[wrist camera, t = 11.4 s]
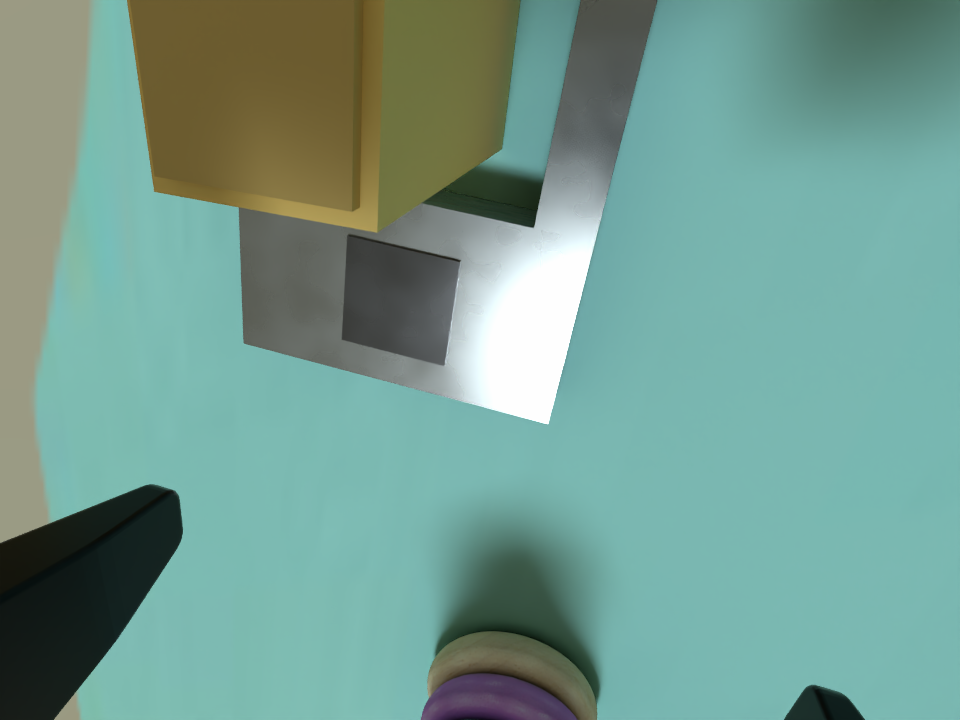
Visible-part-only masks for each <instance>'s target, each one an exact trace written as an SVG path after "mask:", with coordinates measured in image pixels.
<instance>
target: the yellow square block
mask: <svg viewBox="0 0 960 720" xmlns="http://www.w3.org/2000/svg"><path fill="white" fill-rule="evenodd" d="M127 3H128V10H129V17H130V24H131V31H132V38H133V45H134V53H135V60H136V67H137V74H138V81H139V88H140V95H141V102H142V109H143V116H144V123H145V130H146V137H147V144H148V151H149V158H150V165H151V172H152V179H153V186H154V192H159V193H164V194H170V195H175V196H180V197H186V198H191V199H197V200H202V201H208V202H213V203H218V204H224V205H229V206H235V207H240V208H246V209H251V210H256V211H262V212H267V213H273V214H278V215H284V216H289V217H295V218H300V219H305V220H311V221H316V222H322V223H327V224H333V225H338V226H343V227H349V228H354V229H360V230H365V231H371V232H376V233H377V232H379V231H380V230H382V229H383V228H385V227H386V226H388V225H389V224H391V223H392V222H394V221H395V220H397V219H398V218H400V217H401V216H403V215H404V214H406V213H407V212H409V211H410V210H412V209H413V208H415V207H416V206H418V205H419V204H421V203H422V202H424V201H425V200H427V199H428V198H430V197H431V196H433V195H434V194H436V193H437V192H439V191H440V190H442V189H443V188H445V187H446V186H448V185H449V184H451V183H452V182H453V181H455V180H456V179H458V178H459V177H461V176H462V175H464V174H465V173H467V172H468V171H470V170H471V169H473V168H474V167H476V166H477V165H479V164H480V163H482V162H483V161H485V160H486V159H488V158H489V157H491V156H492V155H494V154H495V153H497V152H498V151H500V150H501V149H502V145H503V137H504V129H505V121H506V113H507V105H508V97H509V88H510V80H511V72H512V64H513V56H514V48H515V40H516V32H517V24H518V16H519V8H520V0H127Z"/></svg>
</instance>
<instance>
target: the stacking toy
mask: <svg viewBox="0 0 960 720" xmlns="http://www.w3.org/2000/svg"><path fill="white" fill-rule="evenodd" d="M428 695H429V699H428V701H427V703H426V705H425V707H424V710H423V713H422V717H421V720H597V705H596V700H595V696H594V693H593V691H592V688H591V686H590V685H589V683H588V681H587V680H586V678H585V677H584V675H583V674H582V673H581V671H580V670H579V669H578V668H577V667H576V666H575V665H574V664H573V663H572V662H571V661H570V660H569V659H567V658H566V657H565V656H564V655H562V654H561V653H559V652H558V651H556V650H555V649H553V648H551V647H550V646H548V645H546V644H543V643H541V642H539V641H537V640H534V639H532V638H529V637H526V636H522V635H518V634H514V633H507V632H498V631H486V632H477V633H472V634H468V635H465V636H463V637H460V638H458V639H456V640H454V641H452V642H451V643H449V644H447V645H446V646H445V647H444V648H443V649H442V650H441V651H440V652H439V653H438V655H437V656H436V657H435V659H434V661H433V663H432V665H431V667H430V670H429V675H428Z"/></svg>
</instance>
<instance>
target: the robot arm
mask: <svg viewBox="0 0 960 720" xmlns="http://www.w3.org/2000/svg"><path fill="white" fill-rule="evenodd" d="M182 534H183V526H182V517H181V508H180V499H179V495H178V494H177V493H176V491H174V490H171V489H168V488H165V487H161V486H158V485H153V484H150V485H145V486H142V487H140V488H137V489H135V490H132V491H130V492H127V493H125V494H122V495H120V496H117V497H115V498H112V499H110V500H107V501H105V502H102V503H100V504H97V505H95V506H92V507H90V508H87V509H85V510H82V511H80V512H77V513H74V514H72V515H69V516H67V517H64V518H62V519H59V520H57V521H54V522H52V523H49V524H47V525H44V526H42V527H39V528H37V529H34V530H32V531H29V532H27V533H24V534H22V535H19V536H17V537H15V538H12V539H9V540H7V541H4V542H2V543H0V720H54V719H55V717H56V716H57V715H58V714H59V712H60V711H61V709H63V707H64V706H65V705H66V704H67V702H68V701H69V700H70V699H71V697H72V696H73V695H74V694H75V692H76V691H77V690H78V689H79V687H80V686H81V685H82V684H83V682H84V681H85V680H86V679H87V677H88V676H89V675H90V674H91V672H92V671H93V670H94V669H95V667H96V666H97V665H98V663H99V662H100V661H101V660H102V658H103V657H104V656H105V655H106V653H107V652H108V651H109V649H110V648H111V647H112V645H113V644H114V643H115V642H116V640H117V639H118V637H119V636H120V634H121V633H122V632H123V630H124V629H125V627H126V626H127V624H128V623H129V621H130V620H131V618H132V617H133V615H134V614H135V612H136V611H137V609H138V608H139V606H140V604H141V603H142V601H143V600H144V598H145V597H146V595H147V594H148V592H149V591H150V589H151V588H152V586H153V585H154V583H155V582H156V580H157V579H158V577H159V575H160V574H161V572H162V571H163V569H164V568H165V566H166V565H167V563H168V562H169V560H170V559H171V557H172V556H173V554H174V553H175V551H176V550H177V548H178V546H179V544H180V542H181V539H182ZM784 720H865V719H864V718H863V716H862V715H861V714H860V712H859V711H858V710H857V708H856V707H855V706H854V704H853V703H852V702H851V701H850V700H849V699H848V698H847V697H846V696H845V695H844V694H842V693H840V692H837V691H834V690H830V689H827V688H824V687H821V686H817V685H810V686H808V687H806V688H805V689H804V691H803V692H802V693H801V695H800V696H799V698H798V699H797V701H796V702H795V704H794V705H793V707H792V708H791V710H790V711H789V713H788V714H787V715H786V717H785V719H784Z"/></svg>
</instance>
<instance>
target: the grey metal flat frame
mask: <svg viewBox="0 0 960 720" xmlns="http://www.w3.org/2000/svg"><path fill="white" fill-rule="evenodd" d="M656 3H657V0H581V2H580V7H579V11H578V16H577V21H576V26H575V31H574V36H573V41H572V46H571V50H570V55H569V60H568V65H567V70H566V75H565V80H564V85H563V89H562V94H561V99H560V104H559V109H558V114H557V119H556V124H555V128H554V133H553V138H552V143H551V148H550V153H549V158H548V163H547V167H546V172H545V177H544V182H543V187H542V192H541V197H540V202H539V206H538V211H535V210H530V209H526V208H521V207H516V206H512V205H507V204H503V203H498V202H494V201H489V200H484V199H480V198H475V197H471V196H466V195H462V194H457V193H452V192H448V191H443V190H440V191H439V192H437V193H436V194H434V195H433V196H431V197H430V198H428V199H427V200H425V201H424V202H422V203H421V204H419V205H418V206H416V207H415V208H413V209H412V210H410V211H409V212H407V213H406V214H404V215H403V216H401V217H400V218H398V219H397V220H395V221H394V222H392V223H391V224H389V225H388V226H386V227H385V228H383V229H382V230H380V231H379V232H377V233H376V232H371V231H365V230H360V229H354V228H349V227H343V226H338V225H333V224H327V223H322V222H316V221H311V220H305V219H300V218H295V217H289V216H284V215H278V214H273V213H267V212H262V211H256V210H251V209H246V208H240V207H239V227H240V255H241V283H242V311H243V339H244V344H248V345H252V346H256V347H259V348H263V349H267V350H271V351H274V352H278V353H282V354H286V355H289V356H293V357H297V358H301V359H305V360H308V361H312V362H316V363H320V364H323V365H327V366H331V367H335V368H338V369H342V370H346V371H350V372H353V373H357V374H361V375H365V376H368V377H372V378H376V379H380V380H383V381H387V382H391V383H395V384H399V385H402V386H406V387H410V388H414V389H417V390H421V391H425V392H429V393H432V394H436V395H440V396H444V397H447V398H451V399H455V400H459V401H462V402H466V403H470V404H474V405H478V406H481V407H485V408H489V409H493V410H496V411H500V412H504V413H508V414H511V415H515V416H519V417H523V418H526V419H530V420H534V421H538V422H541V423H545V424H548V422H549V418H550V414H551V410H552V407H553V403H554V399H555V395H556V391H557V387H558V383H559V379H560V375H561V372H562V368H563V364H564V360H565V356H566V352H567V348H568V344H569V341H570V337H571V333H572V329H573V325H574V321H575V317H576V313H577V310H578V306H579V302H580V298H581V294H582V290H583V286H584V282H585V279H586V275H587V271H588V267H589V263H590V259H591V255H592V251H593V248H594V244H595V240H596V236H597V232H598V228H599V224H600V220H601V217H602V213H603V209H604V205H605V201H606V197H607V193H608V189H609V186H610V182H611V178H612V174H613V170H614V166H615V162H616V158H617V155H618V151H619V147H620V143H621V139H622V135H623V131H624V127H625V124H626V120H627V116H628V112H629V108H630V104H631V100H632V96H633V93H634V89H635V85H636V81H637V77H638V73H639V69H640V65H641V62H642V58H643V54H644V50H645V46H646V42H647V38H648V34H649V31H650V27H651V23H652V19H653V15H654V11H655V7H656Z"/></svg>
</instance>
